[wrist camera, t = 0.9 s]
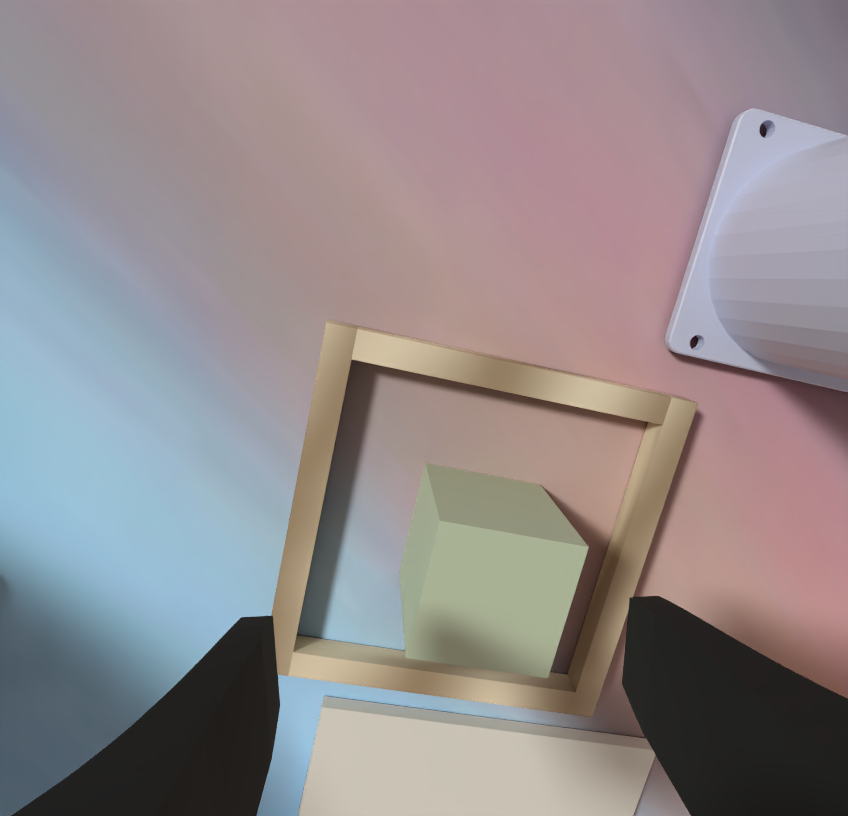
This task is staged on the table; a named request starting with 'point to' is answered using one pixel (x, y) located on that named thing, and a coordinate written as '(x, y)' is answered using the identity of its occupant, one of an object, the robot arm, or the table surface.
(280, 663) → the maple pocket frame
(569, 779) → the beige mat
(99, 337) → the table surface
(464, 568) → the sage block
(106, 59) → the table surface
